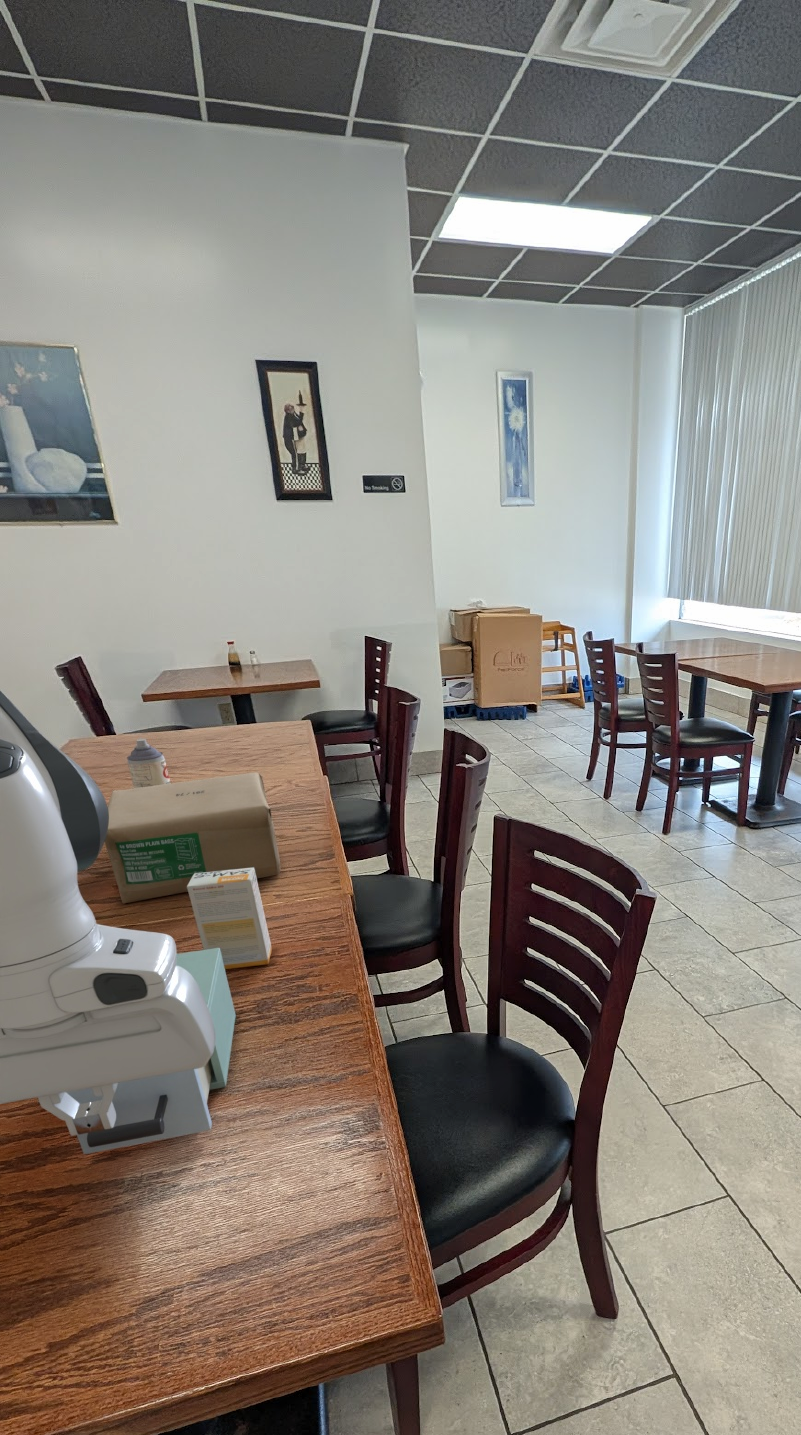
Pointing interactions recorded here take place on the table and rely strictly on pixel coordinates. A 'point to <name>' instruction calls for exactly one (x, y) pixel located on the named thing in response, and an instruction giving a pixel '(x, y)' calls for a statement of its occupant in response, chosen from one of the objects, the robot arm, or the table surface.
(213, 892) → the supplement box
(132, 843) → the paper package
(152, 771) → the aerosol can
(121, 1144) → the drawer
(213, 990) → the mint green drawer box
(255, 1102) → the table surface
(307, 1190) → the table surface
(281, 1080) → the table surface
